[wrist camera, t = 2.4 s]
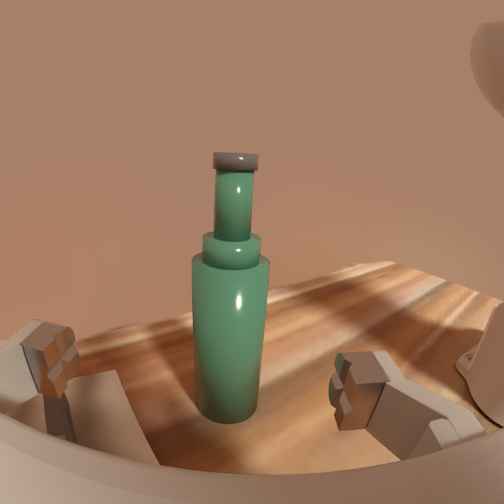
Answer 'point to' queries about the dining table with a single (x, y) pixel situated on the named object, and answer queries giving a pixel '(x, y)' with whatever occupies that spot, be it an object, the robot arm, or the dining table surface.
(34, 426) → the bottle stand
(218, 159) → the bottle
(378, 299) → the dining table surface
